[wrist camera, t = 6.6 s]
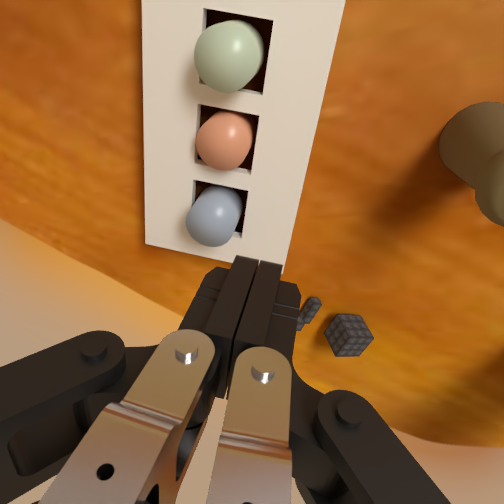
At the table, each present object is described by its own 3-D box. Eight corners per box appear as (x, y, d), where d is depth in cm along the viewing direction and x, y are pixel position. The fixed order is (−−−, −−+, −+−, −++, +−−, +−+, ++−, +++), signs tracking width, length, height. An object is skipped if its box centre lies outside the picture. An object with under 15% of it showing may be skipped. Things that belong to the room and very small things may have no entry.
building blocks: (358, 356, 43) (296, 357, 40) (337, 317, 47) (279, 315, 44) (374, 338, 42) (310, 337, 38) (351, 299, 46) (291, 295, 42)
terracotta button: (259, 111, 34) (250, 124, 30) (252, 158, 36) (243, 175, 33) (211, 101, 34) (197, 113, 31) (207, 149, 36) (194, 165, 33)
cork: (497, 84, 30) (567, 124, 21) (536, 144, 31) (617, 205, 22) (423, 137, 33) (456, 193, 24) (463, 189, 34) (508, 260, 25)
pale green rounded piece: (269, 24, 28) (260, 29, 25) (260, 86, 31) (250, 97, 28) (212, 14, 29) (195, 17, 26) (207, 76, 31) (192, 86, 28)
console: (349, -21, 28) (350, -22, 25) (285, 257, 41) (282, 274, 39) (157, -53, 29) (140, -57, 26) (156, 229, 42) (145, 243, 40)
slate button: (245, 189, 36) (236, 209, 32) (239, 229, 38) (230, 251, 35) (200, 179, 36) (186, 198, 33) (197, 219, 38) (184, 241, 35)
